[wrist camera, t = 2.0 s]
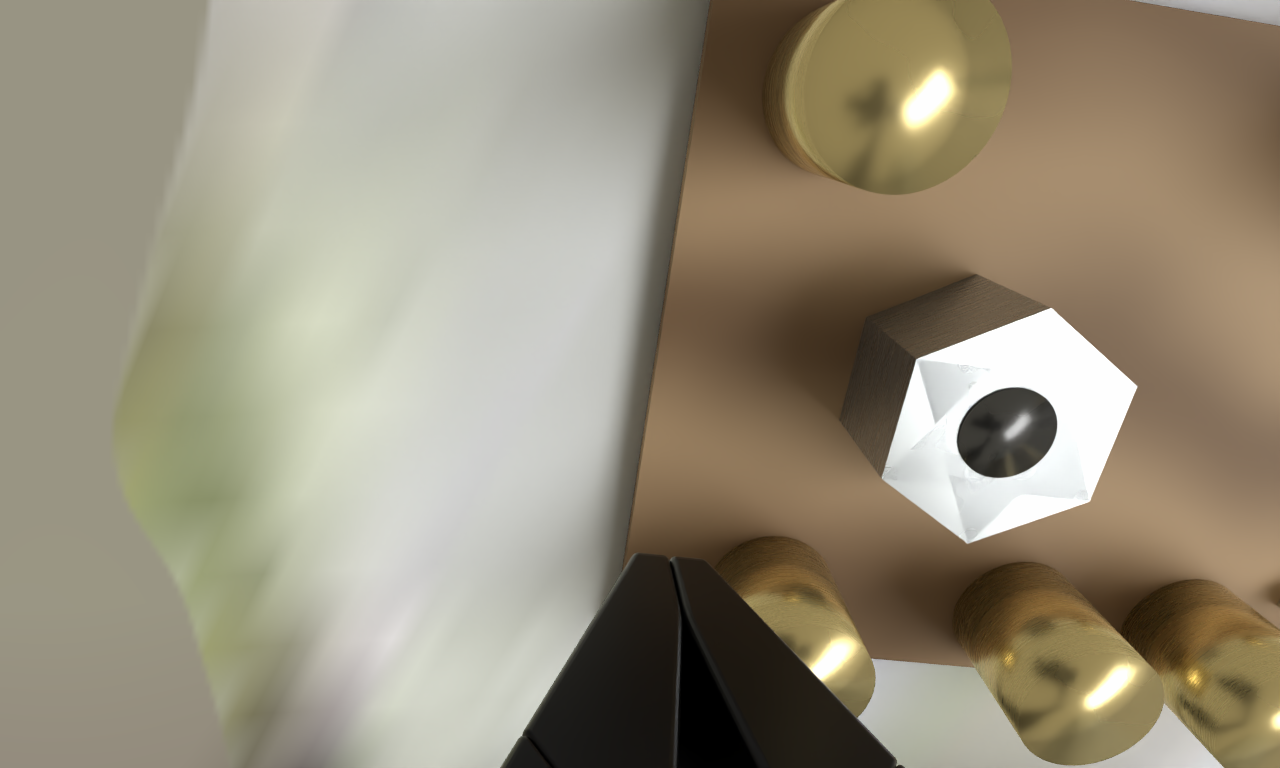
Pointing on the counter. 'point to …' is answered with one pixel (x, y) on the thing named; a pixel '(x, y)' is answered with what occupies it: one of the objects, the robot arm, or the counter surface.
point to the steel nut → (983, 407)
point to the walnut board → (1010, 256)
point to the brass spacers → (1023, 591)
